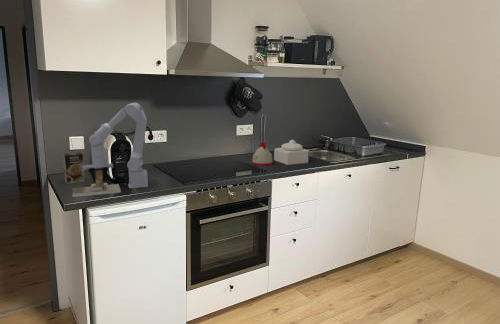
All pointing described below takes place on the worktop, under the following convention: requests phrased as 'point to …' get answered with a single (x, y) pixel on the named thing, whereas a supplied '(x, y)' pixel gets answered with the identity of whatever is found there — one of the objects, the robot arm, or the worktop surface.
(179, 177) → the worktop surface
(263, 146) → the grey bobble hat
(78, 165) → the coffee box
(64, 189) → the worktop surface
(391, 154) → the worktop surface
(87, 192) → the hole plate
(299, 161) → the grey lidded box
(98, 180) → the peg
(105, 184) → the pad
